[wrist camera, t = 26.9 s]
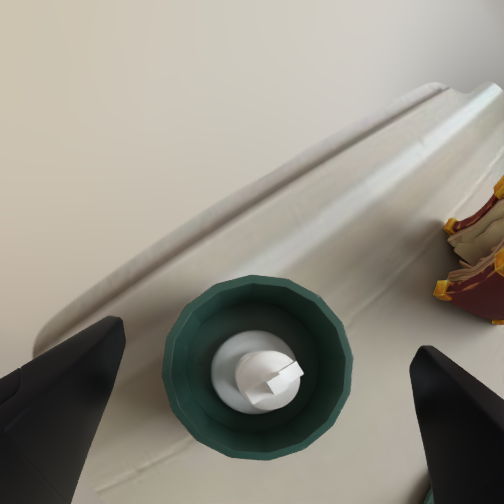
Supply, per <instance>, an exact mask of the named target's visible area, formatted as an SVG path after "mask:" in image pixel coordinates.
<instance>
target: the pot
mask: <svg viewBox="0 0 504 504" xmlns="http://www.w3.org/2000/svg"><path fill="white" fill-rule="evenodd" d="M247 330H262V331H266V332H269V333H272V334H274V335H276V336H278V337H279V338H281V339H282V340H283V341H284V342H285V343H286V344H287V345H288V346H289V347H290V348H291V350H292V351H293V353H294V355H295V358H296V361H297V363H298V365H299V366H300V368H301V370H302V371H303V373H304V374H303V375H301V376H300V385H299V389H298V392H297V394H296V395H295V397H294V398H293V399H292V400H291V401H290V402H289V403H288V404H287V405H285V406H283V407H281V408H278V409H275V410H273V411H270V412H267V413H263V414H246V413H242V412H239V411H236V410H234V409H232V408H231V407H229V406H228V405H226V404H225V403H224V402H223V401H222V400H221V399H220V398H219V396H218V395H217V393H216V392H215V390H214V387H213V385H212V381H211V363H212V360H213V357H214V355H215V353H216V351H217V349H218V348H219V346H220V345H221V344H222V343H223V342H224V341H225V340H226V339H228V338H229V337H231V336H232V335H234V334H237V333H239V332H242V331H247ZM352 369H353V355H352V351H351V348H350V345H349V342H348V339H347V335H346V332H345V329H344V326H343V324H342V322H341V321H340V320H339V319H338V317H337V316H336V315H335V314H334V313H333V311H332V310H331V309H330V308H329V307H328V305H327V304H326V303H325V302H324V301H323V299H322V298H321V297H319V295H317V294H315V293H313V292H311V291H309V290H307V289H306V288H304V287H302V286H300V285H298V284H296V283H294V282H292V281H291V280H289V279H288V280H287V279H284V278H275V277H267V276H258V275H248V276H244V277H241V278H237V279H233V280H229V281H225V282H222V283H218V284H216V285H214V286H212V287H211V288H209V289H208V290H207V291H205V292H204V293H203V294H201V295H200V296H199V297H197V298H196V299H195V300H193V301H192V302H191V303H189V304H188V305H187V306H186V307H185V308H184V310H183V311H182V313H181V315H180V316H179V318H178V320H177V321H176V323H175V325H174V326H173V328H172V330H171V331H170V333H169V335H168V336H167V339H166V345H165V352H164V360H163V367H162V378H163V382H164V385H165V389H166V392H167V396H168V399H169V403H170V406H171V409H172V410H173V413H174V414H175V415H176V417H177V418H178V419H179V420H180V421H181V423H182V424H183V425H184V426H185V428H186V429H187V430H188V431H189V432H190V433H191V435H192V436H193V437H194V438H195V439H197V441H199V442H201V443H203V444H205V445H206V446H208V447H210V448H212V449H214V450H216V451H218V452H220V453H222V454H224V455H226V456H228V457H231V458H240V459H251V460H266V461H267V460H272V459H276V458H279V457H282V456H285V455H289V454H292V453H295V452H298V451H301V450H304V449H305V448H307V447H308V446H309V445H310V444H312V443H313V442H314V441H315V440H317V439H318V438H319V437H320V436H321V435H323V434H324V433H325V432H326V431H327V430H328V429H330V428H331V427H332V426H333V425H334V423H335V421H336V419H337V418H338V416H339V414H340V412H341V410H342V408H343V406H344V404H345V402H346V400H347V399H348V397H349V395H350V391H351V380H352Z"/></svg>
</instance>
